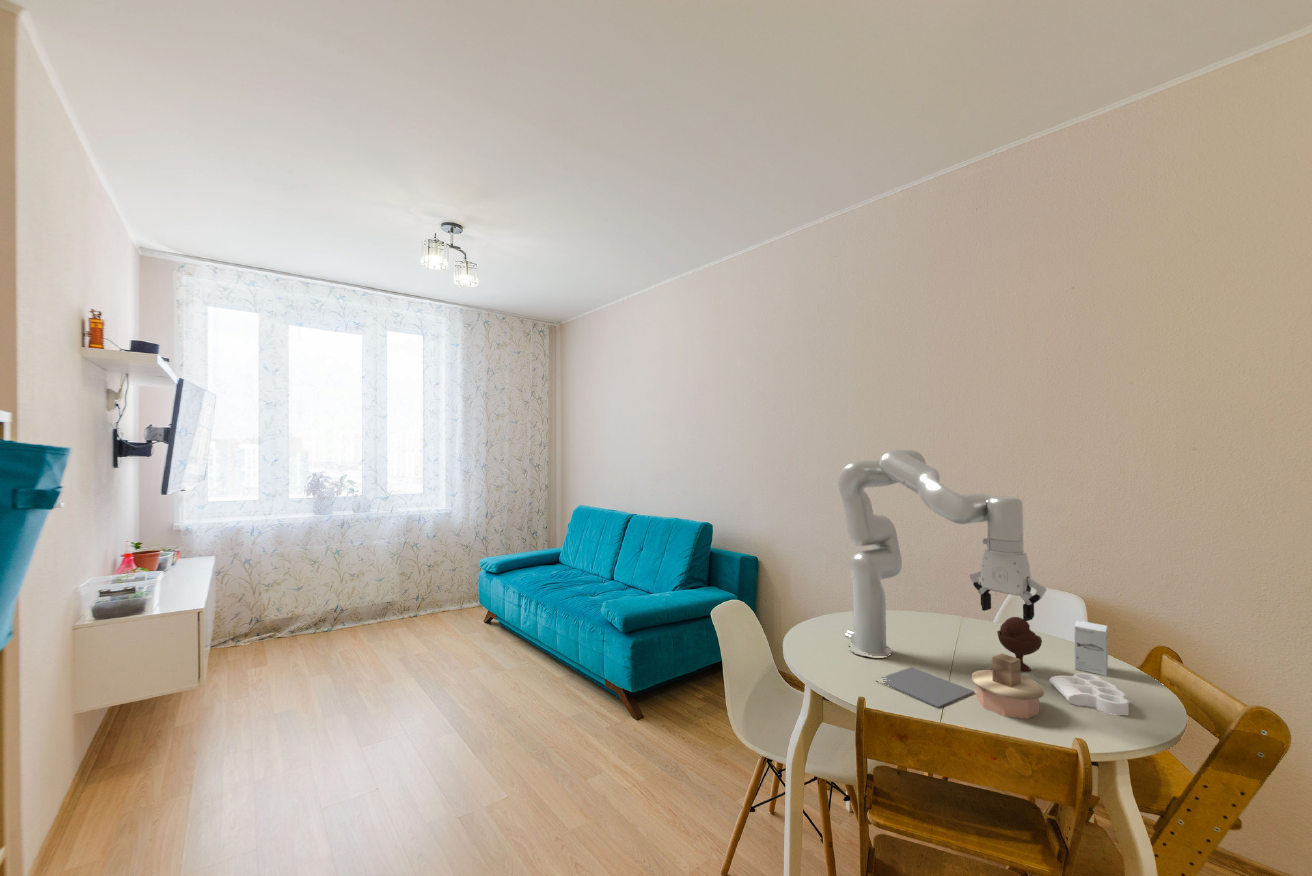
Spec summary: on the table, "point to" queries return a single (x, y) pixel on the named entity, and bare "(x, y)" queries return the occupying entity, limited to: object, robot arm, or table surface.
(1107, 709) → the white holed part
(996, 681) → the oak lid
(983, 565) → the robot arm
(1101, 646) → the supplement box
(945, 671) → the table surface
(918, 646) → the table surface
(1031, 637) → the ice cream bowl
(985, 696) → the terracotta bowl
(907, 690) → the rubber mat
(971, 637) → the table surface
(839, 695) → the table surface
